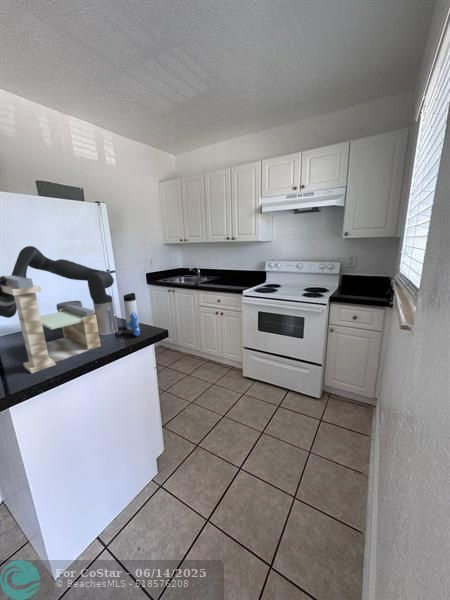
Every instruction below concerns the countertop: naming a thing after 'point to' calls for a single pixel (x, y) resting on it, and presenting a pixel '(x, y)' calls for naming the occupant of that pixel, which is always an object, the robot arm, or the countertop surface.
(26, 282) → the slate block
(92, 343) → the trapdoor frame
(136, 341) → the countertop surface
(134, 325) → the grapes
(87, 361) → the countertop surface
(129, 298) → the travel mug
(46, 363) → the tall stand
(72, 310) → the trapdoor
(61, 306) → the grey rounded piece
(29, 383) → the countertop surface
